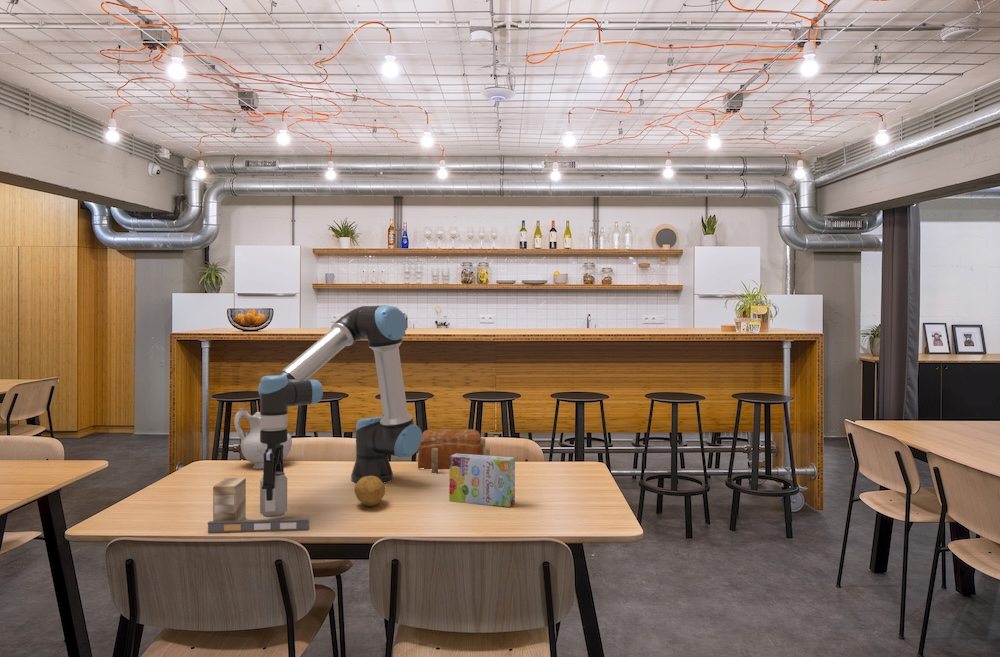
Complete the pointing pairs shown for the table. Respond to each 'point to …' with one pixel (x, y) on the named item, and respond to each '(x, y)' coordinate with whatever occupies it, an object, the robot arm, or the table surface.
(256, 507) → the table surface
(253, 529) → the rail
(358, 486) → the potato
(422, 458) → the bread
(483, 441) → the twin upright posts
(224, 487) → the kraft box
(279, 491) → the can
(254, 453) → the ceramic pitcher
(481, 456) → the snack box
